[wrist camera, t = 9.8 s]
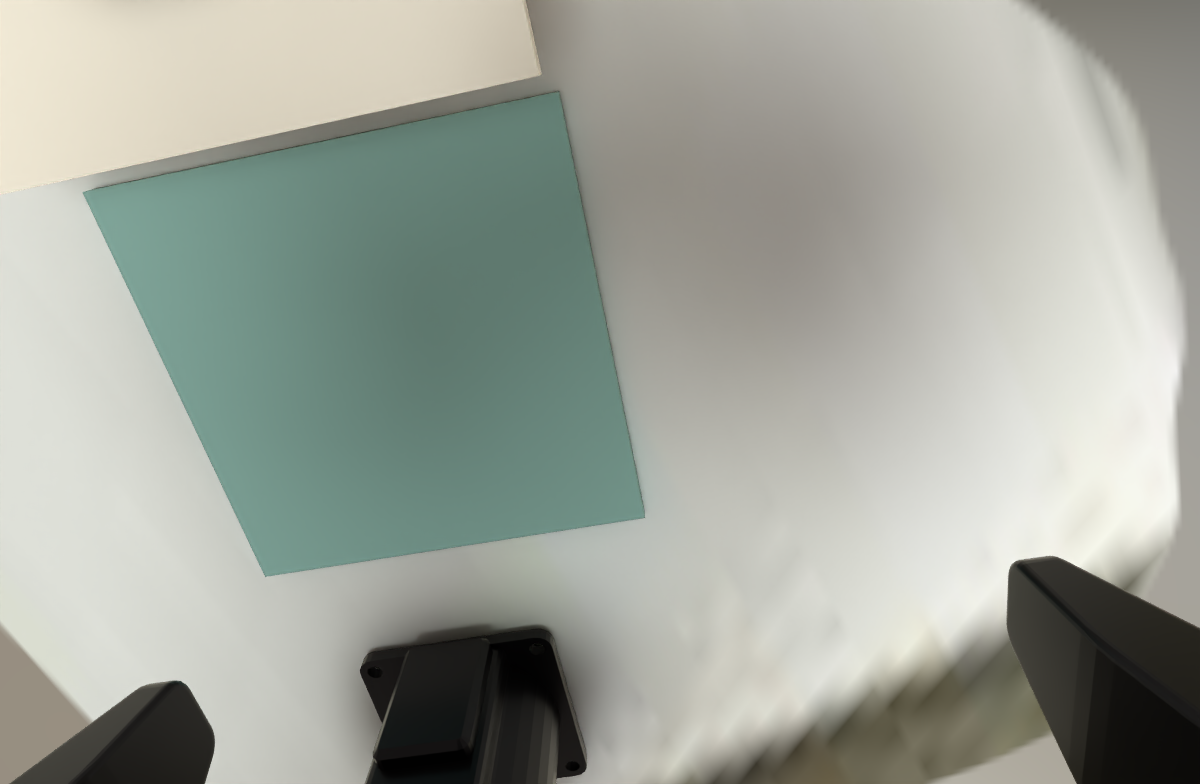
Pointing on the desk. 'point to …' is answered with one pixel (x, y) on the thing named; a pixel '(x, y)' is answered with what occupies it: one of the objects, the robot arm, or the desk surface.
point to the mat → (387, 335)
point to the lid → (228, 72)
